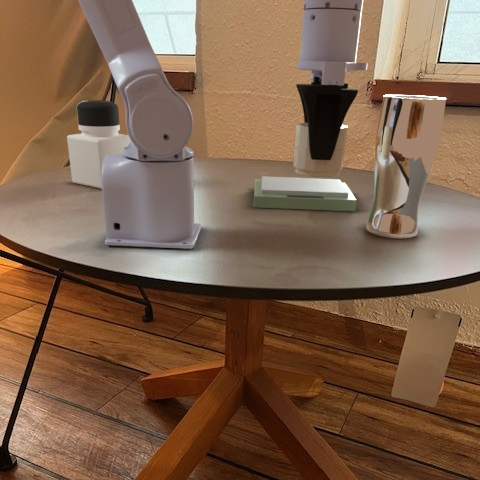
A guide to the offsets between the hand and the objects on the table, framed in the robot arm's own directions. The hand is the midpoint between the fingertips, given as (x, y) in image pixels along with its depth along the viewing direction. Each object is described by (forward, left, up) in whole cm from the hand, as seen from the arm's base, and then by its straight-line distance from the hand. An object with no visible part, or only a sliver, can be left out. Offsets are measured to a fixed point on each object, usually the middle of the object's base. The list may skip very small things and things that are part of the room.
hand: (318, 154), depth 56 cm
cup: (0, 0, -2) cm, 2 cm away
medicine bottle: (-31, +22, -9) cm, 39 cm away
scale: (0, +16, -9) cm, 18 cm away
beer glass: (+10, +2, -9) cm, 14 cm away
